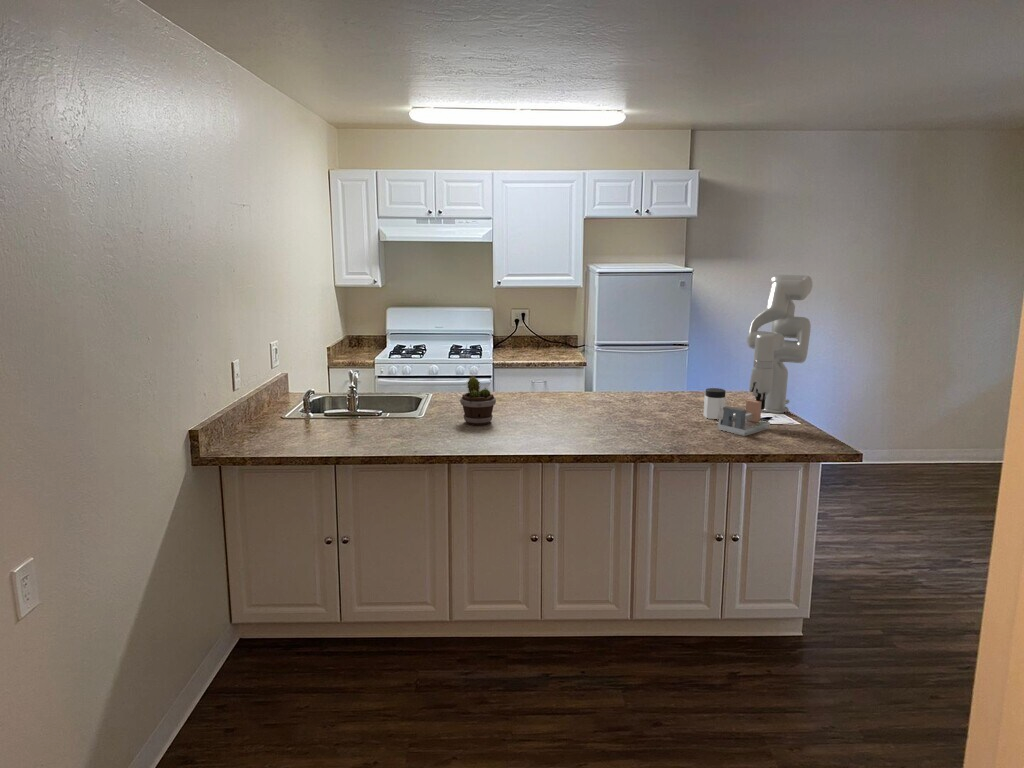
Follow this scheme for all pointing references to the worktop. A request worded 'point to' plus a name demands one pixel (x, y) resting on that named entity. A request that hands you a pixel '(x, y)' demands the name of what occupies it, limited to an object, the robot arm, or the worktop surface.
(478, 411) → the flowerpot
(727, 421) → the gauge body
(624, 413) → the worktop surface
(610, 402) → the worktop surface
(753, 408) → the plunger
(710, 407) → the jar
